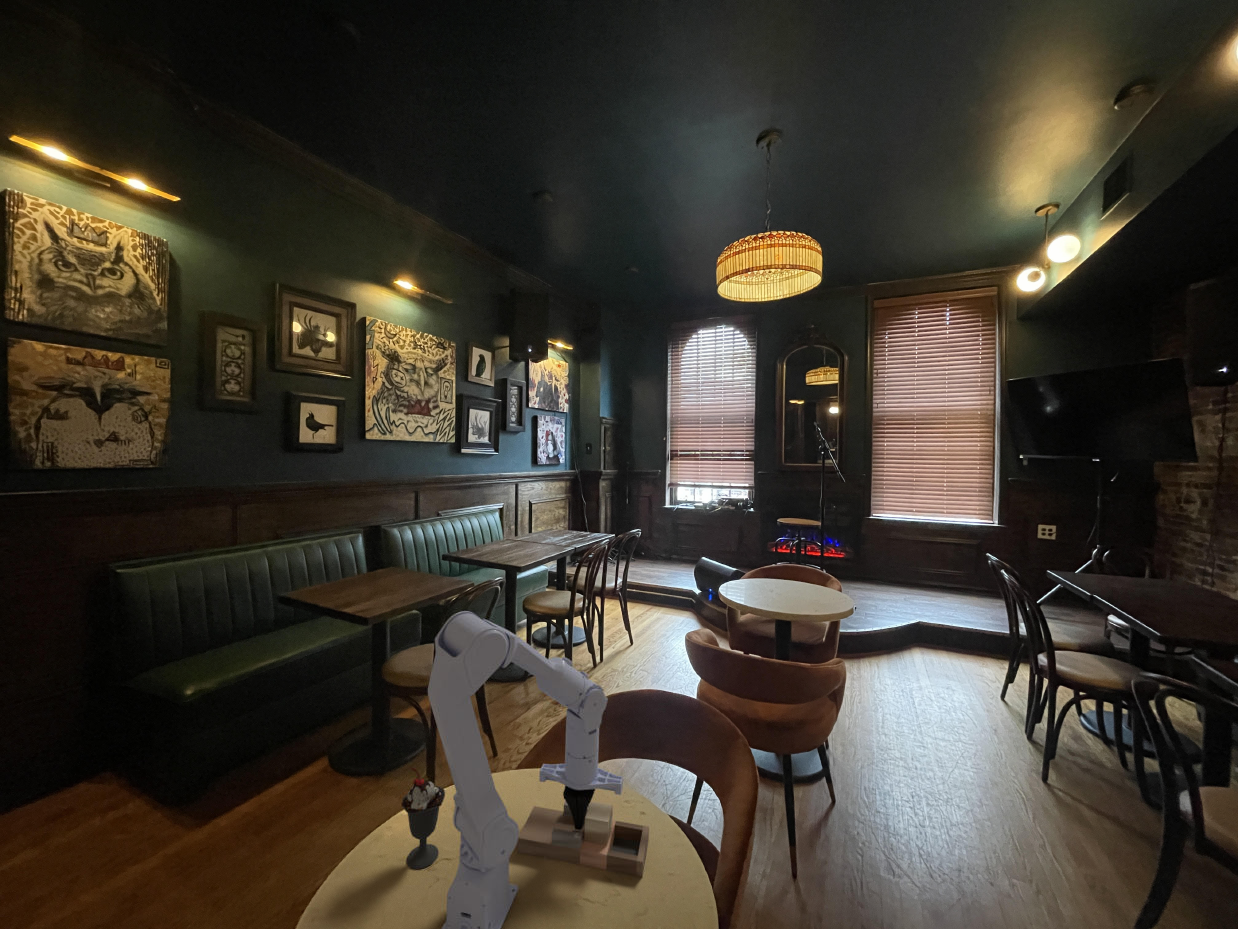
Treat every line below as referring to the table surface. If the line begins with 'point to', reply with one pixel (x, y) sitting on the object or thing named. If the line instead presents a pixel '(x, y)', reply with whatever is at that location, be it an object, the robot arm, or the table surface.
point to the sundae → (423, 819)
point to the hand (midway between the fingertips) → (579, 825)
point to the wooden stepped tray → (583, 842)
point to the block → (598, 823)
